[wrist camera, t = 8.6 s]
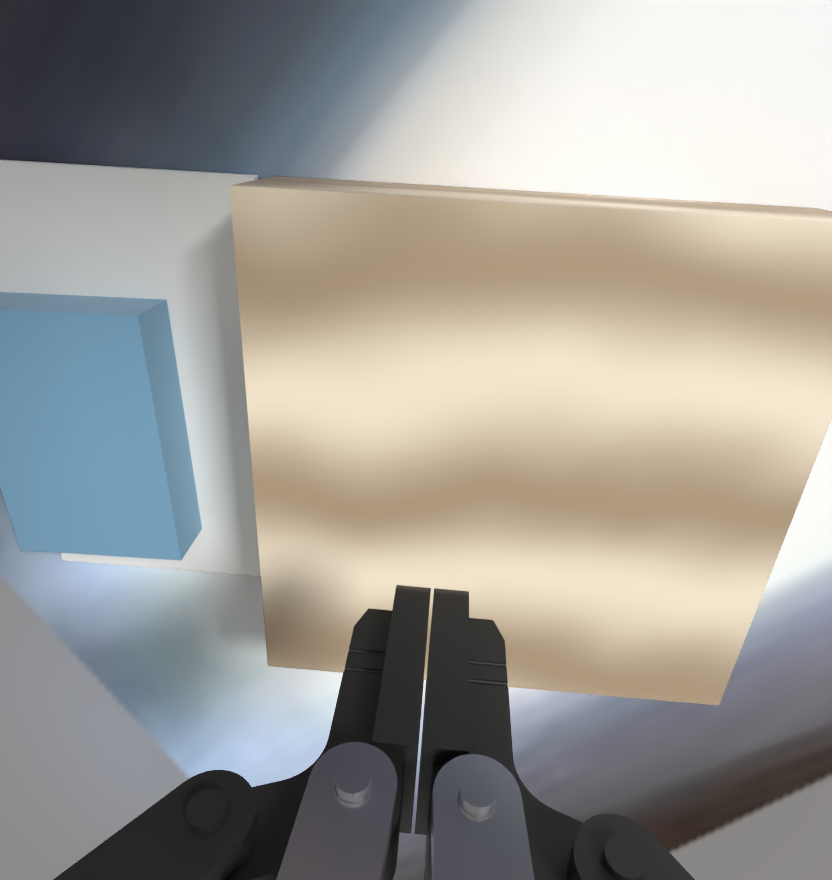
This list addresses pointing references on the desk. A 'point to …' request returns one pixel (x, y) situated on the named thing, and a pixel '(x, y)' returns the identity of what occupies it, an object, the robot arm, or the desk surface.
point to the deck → (530, 418)
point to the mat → (152, 277)
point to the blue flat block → (94, 427)
